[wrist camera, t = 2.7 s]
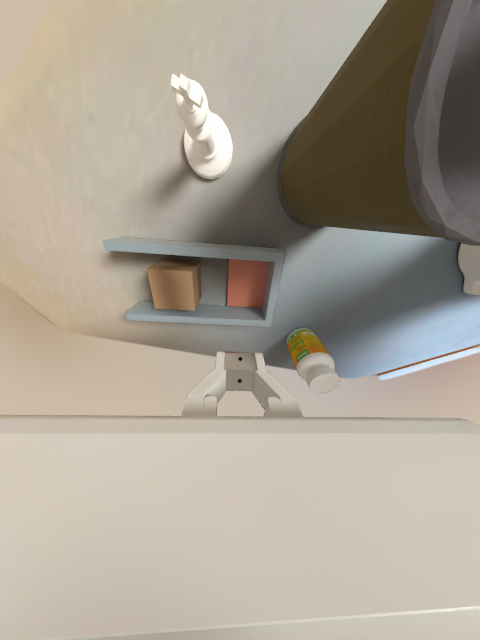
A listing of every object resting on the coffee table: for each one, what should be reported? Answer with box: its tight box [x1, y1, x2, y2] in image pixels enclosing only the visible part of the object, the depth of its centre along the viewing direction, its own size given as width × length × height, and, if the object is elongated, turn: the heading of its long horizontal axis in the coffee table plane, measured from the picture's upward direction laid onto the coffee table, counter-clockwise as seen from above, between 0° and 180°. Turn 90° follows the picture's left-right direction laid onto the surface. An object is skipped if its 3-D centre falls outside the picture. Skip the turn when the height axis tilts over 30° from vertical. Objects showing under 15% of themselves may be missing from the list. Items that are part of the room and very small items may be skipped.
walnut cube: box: [147, 260, 202, 311], centre depth 22 cm, size 5×5×5 cm
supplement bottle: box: [286, 328, 340, 393], centre depth 27 cm, size 5×5×10 cm
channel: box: [102, 237, 285, 327], centre depth 23 cm, size 20×10×4 cm, turn 86°
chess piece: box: [171, 74, 233, 179], centre depth 13 cm, size 5×5×10 cm
